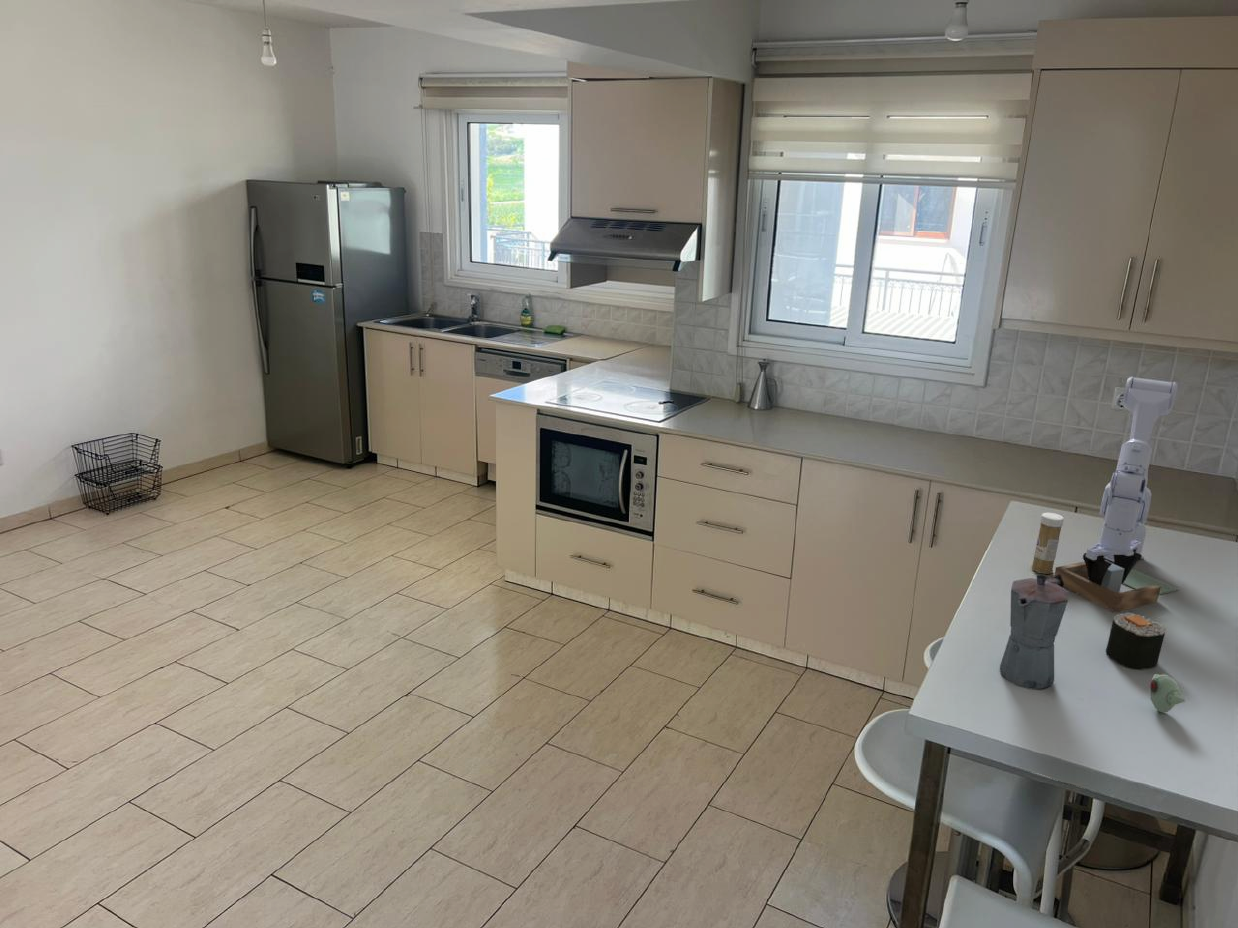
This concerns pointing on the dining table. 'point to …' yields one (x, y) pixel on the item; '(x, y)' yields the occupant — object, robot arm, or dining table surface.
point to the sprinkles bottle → (1047, 543)
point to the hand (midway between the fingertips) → (1105, 584)
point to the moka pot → (1033, 631)
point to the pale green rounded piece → (1164, 693)
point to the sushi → (1135, 641)
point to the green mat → (1146, 582)
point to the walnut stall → (1104, 589)
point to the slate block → (1113, 578)
